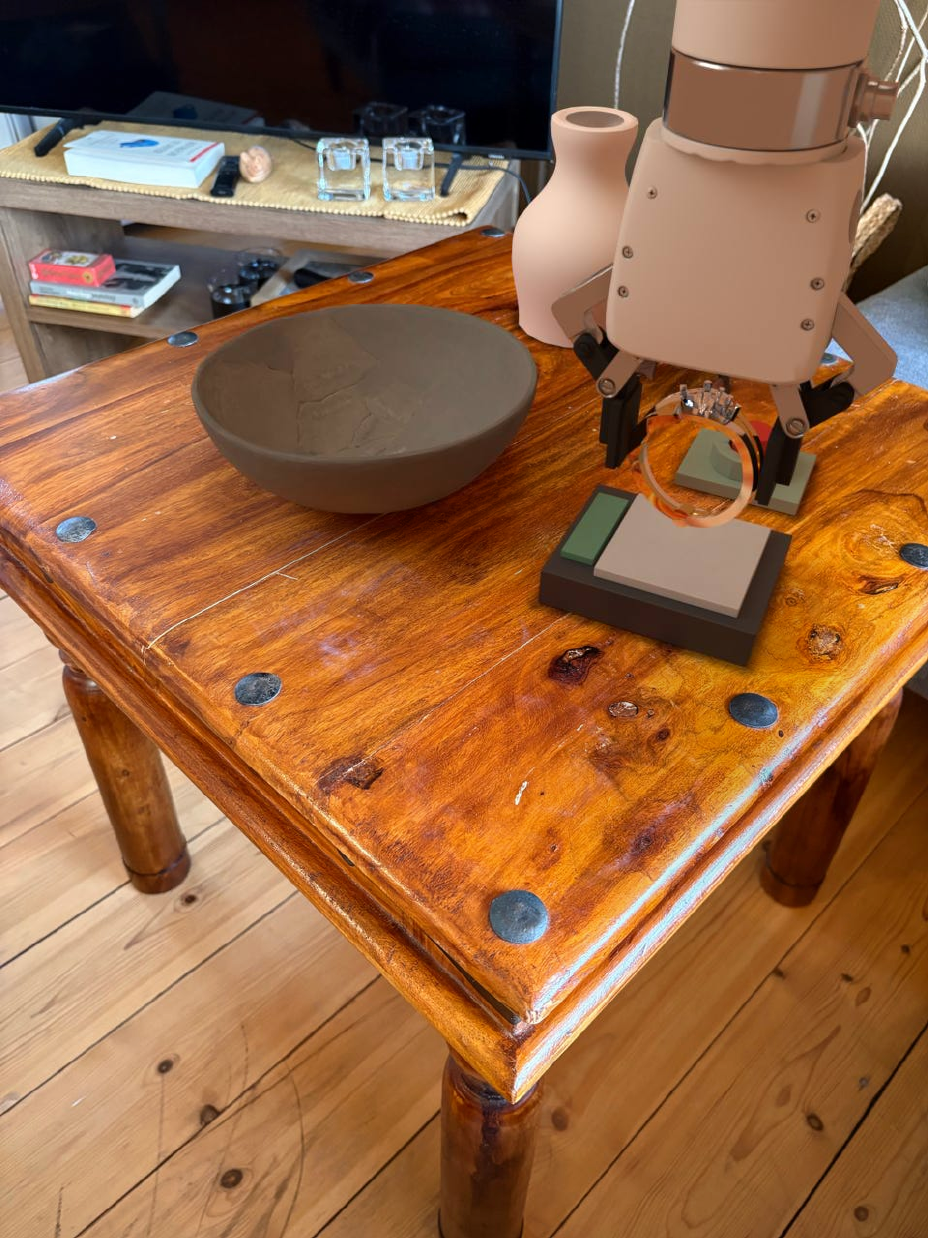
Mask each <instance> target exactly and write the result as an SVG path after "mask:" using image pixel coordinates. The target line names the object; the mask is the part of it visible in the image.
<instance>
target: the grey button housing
mask: <svg viewBox="0 0 928 1238" xmlns="http://www.w3.org/2000/svg"><path fill="white" fill-rule="evenodd" d="M817 458H818V455H817V454H813V453H809V452H806V451H801V450H800V451H799V455H798V459H797V463H796V467H795V471H794V474H793V477H792V480H791V483H790V485H789V486H785V485H780V484H777V485H776V487H775V490H774V492H773V494H772V497H771V499H770V502H769V504H768V506H764V505H760V504H758V501H755V500H754V499H755V497H754V498H753V500H752V501H751V502H750V503H749V505H753V506H756V507H759V508H763V509H768V510H771V511H775V512H779V513H783V514H787V515H790V516H794V517H795V516H796V515H797V512H798V511H799V507H800V505H801V502H802V499H803V496H804V495H805V491H806V489H807V486H808V483H809V481H810V477H811V475H812V472H813V470H814V467H815V465H816V460H817ZM742 483H743V468H742V462H741V458H740V455H739V453H737V452H736V451H734V450H732V441H731V439H730V438H729V437H727V436H726V435H725V434H724V433H722V432H720V431H719V430H714V429H710V428H706V427H701V428H700V429H699V431H698V433H697V435H696V436H695V438H694V440H693V442H692V443H691V445H690V447H689V448H688V451H687V452H686V454H685V456H684V458H683V460H682V461H681V463H680V465H679V467H678V469H677V470H676V471H675V476H674V482H673V484H674V485H675V486H679V487H684V488H687V489H691V490H694V491H698V492H701V493H706V494H711V495H714V496H717V497H721V498H725V499H729V500H733V501H735V500H736V499H737V497H738V496H739V494H740V491H741V488H742Z"/></svg>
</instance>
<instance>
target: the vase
mask: <svg viewBox="0 0 928 1238" xmlns="http://www.w3.org/2000/svg"><path fill="white" fill-rule="evenodd" d="M638 131H639V120H638V118H637V117H636V116H634V115H632V114H631V113H630V112H627V111H623V110H620V109H617V108H611V107H605V106H589V105H588V106H587V105H585V106H571V107H568V108H564V109H560V110H557V111H556V112H554V113H553V114H552V115H551V120H550V132H551V133H550V135H551V140H552V145H553V149H554V153H555V167H554V170H553V173H552V175H551V177H550V178H549V181H548V182H547V184H546V185H545V186H544V187H543V189H542V190H541V191H540V192H539V193H538V194H537V195H536V196H535V198H534V199H533V200H532V201H531V202H530V203H529V204H528V205H527V206H526V207H525V209H523V211H522V213H521V214H520V216H519V217H518V220H517V222H516V224H515V227H514V232H513V236H512V248H511V249H512V250H511V265H512V274H513V281H514V286H515V291H516V297H517V304H518V313H519V319H518V325H519V327H520V328H521V329H522V330H523V332H525V333H526V335H528V336H529V337H532V338H534V339H535V340H538V341H540V342H541V343H544V344H549V345H553V346H557V347H562V348H572V349H573V343H572V342H571V340H570V339H568V338H567V336H566V335H565V333H564V331H563V330H562V328H561V327H560V325H559V324H558V322H557V320H556V319H555V317H554V316H553V314H552V311H551V307H552V304H553V303H554V302H555V301H556V300H557V299H558V298H559V296H560V295H561V294H562V293H563V292H565V291H567V290H568V289H570V288H571V287H573V286H575V285H576V284H578V283H580V282H581V281H583V280H585V279H586V278H588V277H589V276H591V275H593V274H594V273H596V272H598V271H599V270H601V269H602V268H604V267H606V266H607V265H609V264H611V263H612V262H614V258H615V253H616V248H617V242H618V237H619V233H620V228H621V223H622V219H623V214H624V209H625V205H626V200H627V196H628V192H629V188H630V186H629V184H628V182H627V180H626V165H627V161H628V158H629V155H630V154H631V151H632V149H633V146H634V144H635V143H636V139H637V136H638ZM607 302H608V299H607V300H605V301H603V302H602V303H600V304H598V305H597V306H595V307H593V308H592V309H591V312H592V314H593V316H594V318H595V322H596V324H597V325H599V326H600V327H602V328H603V329H604V330H605V332H606V313H607ZM606 333H607V332H606Z"/></svg>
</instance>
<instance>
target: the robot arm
mask: <svg viewBox="0 0 928 1238" xmlns="http://www.w3.org/2000/svg"><path fill="white" fill-rule="evenodd" d="M880 4H881V0H676V3H675V12H674V20H673V28H672V36H671V45H670V49H669V57H668V65H667V73H666V74H667V76H666V81H665V82H666V83H665V91H664V100H663V106H662V116H660V117H658V118H655V119H654V120H652V121H651V123H650V124H649V126H648V127H647V128H646V130H645V133H644V136H643V139H642V142H641V145H640V147H639V152H638V155H637V158H636V161H635V165H634V169H633V173H632V176H631V180H630V184H629V192H628V196H627V200H626V205H625V209H624V214H623V219H622V223H621V228H620V233H619V237H618V242H617V248H616V253H615V258H614V262H612V263H611V264H609V265H607V266H606V267H604V268H602V269H601V270H599V271H598V272H596V273H594V274H593V275H591V276H589V277H588V278H586V279H585V280H583V281H581V282H580V283H578V284H576V285H575V286H573V287H571V288H570V289H568V290H567V291H565V292H563V293H562V294H561V295H560V296H559V298H558V299H557V300H556V301H555V302H554V303H553V304H552V307H551V311H552V314H553V316H554V317H555V319H556V320H557V322H558V324H559V325H560V327H561V328H562V330H563V331H564V333H565V335H566V336H567V338H568V339H570V340H571V342H572V343H573V348H572V349H573V353H574V355H575V356H576V357H577V359H578V360H579V361H580V362H581V364H582V365H583V366H584V368H585V369H586V370H587V372H588V373H589V374H590V375H591V377H592V378H593V379H594V381H595V390H596V392H597V394H599V396H600V397H602V405H601V415H600V422H599V433H598V443H599V444H602V445H606V452H605V459H604V468H605V469H608V470H609V469H610V470H614V471H616V469H620V468H621V466H622V465H623V463H624V462H625V460H626V458H628V442H629V438H630V435H631V433H632V431H633V429H634V428H635V427H636V425H637V424H639V415H640V407H641V402H642V401H641V400H642V393H643V385H644V384H643V382H642V381H641V376H640V375H637V373H636V369H637V368H638V367H639V365H640V364H641V363H642V362H643V360H644V359H647V360H651V361H656V362H658V363H661V364H665V365H666V364H670V365H675V366H680V367H685V368H688V369H690V370H696V371H700V372H705V373H709V374H710V373H711V374H714V375H718V374H720V375H725V376H729V378H730V377H731V378H735V379H741V380H745V381H751V382H756V383H757V382H758V383H762V384H767V386H768V389H769V392H770V395H771V398H772V401H773V404H774V406H775V407H774V408H775V410H776V414H777V417H776V419H775V421H774V424H773V426H772V431H771V433H770V435H769V438H768V442H767V447H766V451H765V455H764V460H763V464H762V468H761V473H760V477H759V481H758V485H757V490H756V494H755V499H754V500H755V501H758V504H760V505H764V506H768V504H769V502H770V499H771V497H772V494H773V492H774V490H775V487H776V485H777V484H780V485H785V486H789V485H790V483H791V480H792V477H793V474H794V471H795V467H796V463H797V459H798V455H799V451H801V447H802V445H803V444H802V443H803V441H804V437H805V436H806V435H808V433H809V431H810V430H811V429H813V428H814V427H817V426H818V425H820V424H822V423H824V422H826V421H828V420H829V419H832V418H833V417H836V416H837V415H839V414H841V413H843V412H846V410H848V409H850V407H851V406H852V404H853V403H855V402H857V401H858V400H859V399H861V398H864V397H865V396H867V395H869V393H871V392H873V391H874V390H875V389H877V388H879V387H880V386H882V385H883V384H884V383H886V382H888V381H889V380H891V378H893V376H894V375H895V372H896V370H897V365H898V362H899V356H898V354H897V353H896V351H895V350H894V349H893V348H892V346H891V345H890V344H889V343H888V341H886V339H885V338H884V337H883V336H882V335H881V334H880V332H879V331H878V330H877V329H876V328H875V327H874V326H873V325H872V323H871V322H870V321H869V319H867V318H866V317H865V315H864V314H863V313H862V312H861V311H860V309H858V307H857V306H856V305H855V304H854V303H853V301H852V300H851V299H850V297H848V296H847V294H846V293H845V291H846V287H847V282H848V277H849V272H850V267H851V263H852V257H853V252H854V247H855V242H856V239H857V238H856V237H857V232H858V226H859V221H860V215H861V207H862V200H863V191H864V181H865V173H866V172H865V171H866V170H865V169H866V142H865V141H864V140H863V139H861V138H860V137H858V136H856V135H853V134H849V133H850V131H851V129H857V127H858V126H859V124H860V122H863V123H864V122H865V123H870V121H871V119H873V120H880V121H888V122H889V121H891V119H892V116H893V112H894V109H895V106H896V103H897V99H898V96H899V95H898V94H899V91H900V86H901V82H900V81H889V80H882V76H878V75H872V74H873V69H874V68H872V67H868V64H869V63H868V62H869V59H870V54H869V53H868V52H869V48H870V44H871V41H872V37H873V32H874V28H875V25H876V20H877V16H878V12H879V8H880ZM607 299H608V302H607V313H606V332H607V333H606V332H605V330H604V329H603V328H602V327H600V326H599V325H597V324H596V322H595V318H594V316H593V314H592V312H591V309H592V308H593V307H595V306H597V305H598V304H600V303H602V302H603V301H605V300H607ZM832 340H833V341H834V342H835V344H837V345H838V346H839V347H840V348H841V350H842V351H843V352H844V353H845V354H846V355H847V357H848V358H849V359H850V360H851V361H852V363H853V364H851V365H850V366H849V367H848V368H847V369H846V370H844V371H843V372H840V373H837V374H835V375H833V376H832V377H830V378H828V379H826V380H825V381H823V382H821V383H819V384H817V385H815V381H814V379H813V377H814V376H815V375H816V374H817V372H818V369H819V367H820V364H821V361H822V359H823V356H824V355H825V353H826V350H827V349H828V348H829V347H830V344H831V342H832Z"/></svg>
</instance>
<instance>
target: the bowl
mask: <svg viewBox="0 0 928 1238" xmlns="http://www.w3.org/2000/svg"><path fill="white" fill-rule="evenodd" d="M537 390H538V368H537V364H536V361H535V359H534V356H533V354H532V353H531V351H530V349H529V348H528V346H527V345H526V344H525V343H524V342H523V341H522V340H521V339H520V338H519V337H518V336H516V335H515V334H514V333H512V332H511V331H510V330H508V329H506V328H504V327H502V326H501V325H499V324H496V323H495V322H492V321H490V320H487V319H485V318H482V317H478V316H476V315H473V314H471V313H468V312H467V313H466V312H462V311H459V310H455V309H450V308H443V307H439V306H432V305H425V304H413V303H412V304H411V303H386V302H385V303H384V302H383V303H381V302H379V303H356V304H355V303H353V304H343V305H333V306H329V307H328V306H327V307H323V308H319V309H314V310H308V311H304V312H299V313H295V314H291V315H287V316H283V317H277V318H274V319H270V320H268V321H265V322H262V323H260V324H257V325H255V326H253V327H251V328H249V329H247V330H245V331H244V332H242V333H240V334H239V335H236V336H235V337H233V338H232V339H229V340H228V341H227V342H225V343H223V344H222V345H220V346H218V347H217V348H215V349H214V350H213V351H211V352H210V353H209V354H208V355H206V356H205V357H204V358H203V359H202V361H201V362H199V364H198V366H197V368H196V371H195V374H194V376H193V379H192V382H191V386H190V394H191V395H190V396H191V401H192V404H193V407H194V410H195V412H196V415H197V417H198V419H199V422H200V423H201V426H203V428H204V430H205V432H206V434H207V435H208V437H209V439H210V441H212V443H213V444H214V446H215V447H216V449H217V450H218V451H219V453H220V454H221V455H222V456H223V458H224V459H226V461H227V462H228V463H229V464H230V465H231V466H232V467H234V468H235V470H237V471H238V472H239V473H240V474H241V475H242V476H243V477H245V478H246V479H247V480H249V481H250V482H252V483H253V484H255V485H256V486H258V487H259V488H261V489H263V490H264V491H267V492H268V493H271V494H272V495H274V496H276V497H279V498H281V499H283V500H286V501H288V502H291V503H294V504H296V505H299V506H302V507H305V508H310V509H313V510H319V511H323V512H329V513H337V514H338V513H339V514H388V513H394V512H402V511H407V510H410V509H414V508H417V507H422V506H424V505H428V504H430V503H433V502H436V501H439V500H441V499H443V498H446V497H447V496H450V495H452V494H454V493H456V492H458V491H460V490H462V489H463V488H465V487H467V485H469V484H470V483H472V482H473V481H474V480H475V479H477V478H478V477H479V476H480V475H481V474H483V473H484V472H485V471H486V470H487V469H488V468H489V467H490V466H491V465H492V464H493V463H495V461H496V460H497V459H498V458H499V457H500V456H501V455H502V454H503V453H504V451H505V450H506V449H507V448H508V447H509V446H510V445H511V444H512V442H513V440H515V437H517V435H518V434H519V432H520V430H521V428H522V427H523V425H524V423H525V422H526V420H527V418H528V415H529V413H530V412H531V408H532V407H533V404H534V402H535V399H536V394H537Z"/></svg>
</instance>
